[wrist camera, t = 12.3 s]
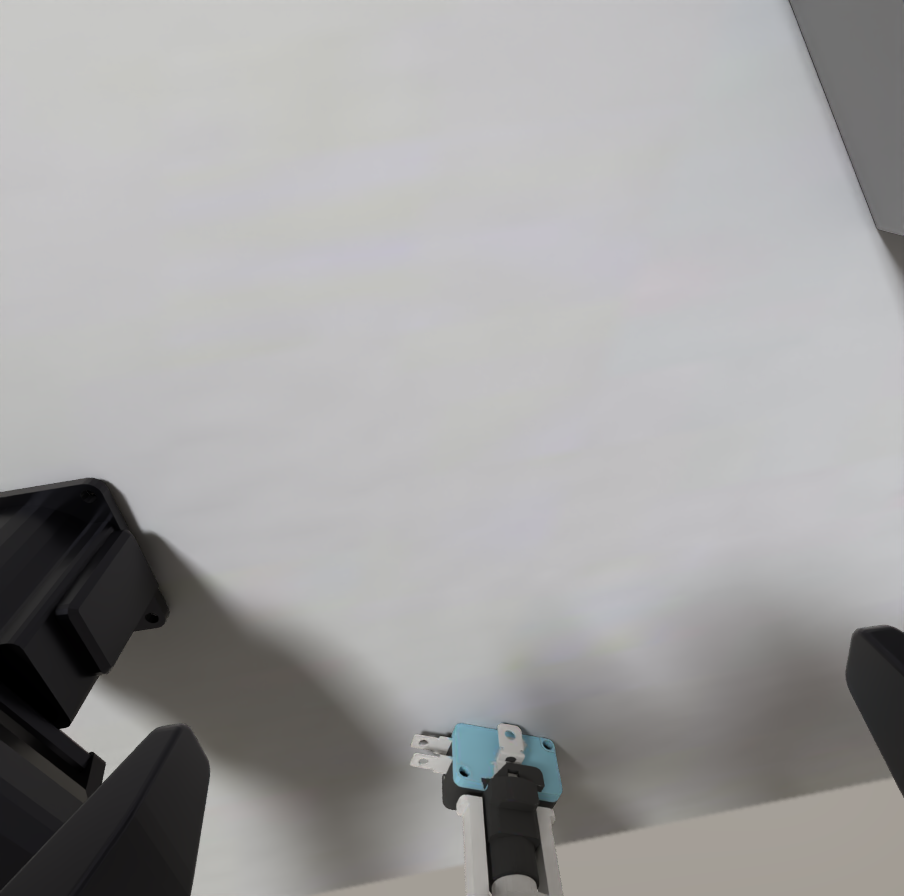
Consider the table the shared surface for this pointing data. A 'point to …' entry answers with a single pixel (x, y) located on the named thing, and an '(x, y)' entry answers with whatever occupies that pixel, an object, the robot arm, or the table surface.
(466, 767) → the push button
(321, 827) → the table surface
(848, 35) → the tray
